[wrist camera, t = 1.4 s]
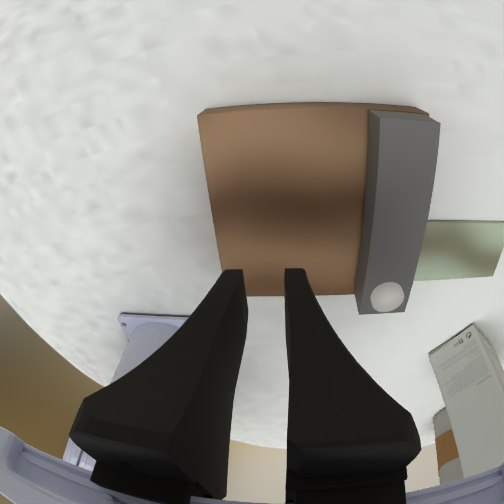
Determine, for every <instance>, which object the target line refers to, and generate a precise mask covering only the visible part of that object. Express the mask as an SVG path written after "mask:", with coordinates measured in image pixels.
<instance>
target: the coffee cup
mask: <svg viewBox="0 0 504 504" xmlns="http://www.w3.org/2000/svg"><path fill="white" fill-rule="evenodd" d="M434 429H435V437H436V438H435V442H436V451H437V461H438V473H439V477H440V485H442V484H446V483H450V482H453V481H457V480H460V479H463V478H464V476H463V471H462V467H461V462H460V458H459V454H458V450H457V446H456V442H455V438H454V434H453V431H452V427H451V424H450V420H449V417H448V413H447V410H446V407H445V408H444V409H442V410H441V411H439V412H438V413H437V414H436V415H435V420H434Z"/></svg>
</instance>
